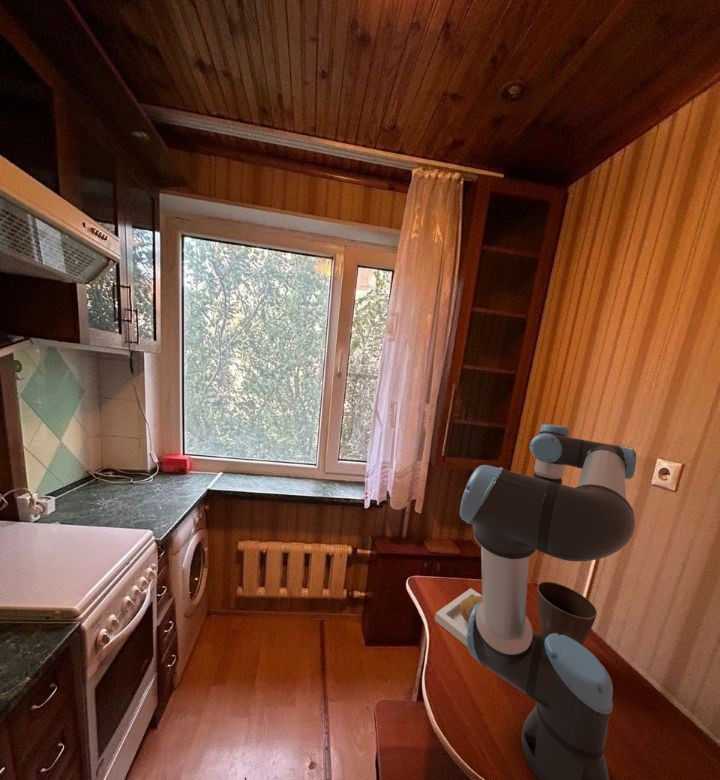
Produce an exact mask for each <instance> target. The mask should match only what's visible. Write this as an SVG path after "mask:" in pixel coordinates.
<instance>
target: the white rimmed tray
mask: <svg viewBox="0 0 720 780" xmlns="http://www.w3.org/2000/svg"><path fill="white" fill-rule="evenodd" d="M472 596H482V593H479V592H477V591H476V590H474V589H473V588H471V587H470V588H468V590H466V591H465V592H463V593H461V595H459V596H457V597H456V598H455V599H453V600H452V601H451V602H449V603H448V604H446V605H445V606H443V607H442V608H440V609H439V610H438V611H436V612H435V616H434V622H436V623H437V624H439V625H440V626H441V627H442V628H444V629H445V630H446V631H447V632H448V633H450V634H451V635H452V636H454V638H456V639H457V640H458V641H459V642H461V643H462V644H463V645H464V646H465V647H467V632H468V628H467V627H468V623H467V622H466V621H465V620H464V618H463V617H462V615H461V612H460V603H461V601H462V600H464V599H466V598H468V597H472Z"/></svg>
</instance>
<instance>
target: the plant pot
mask: <svg viewBox="0 0 720 780" xmlns="http://www.w3.org/2000/svg"><path fill="white" fill-rule="evenodd" d="M536 590H537V591H536V592H537V595H536V596H537V597H536V600H537V601H536V602H537V613H538V614H537V615H538V622H539V628H540V633H541V634H540V635H541V636H543V637H545V638H546V637H548V635H550V634H558V635H559V636H560V635H564V636H567V637H569V638H571V639H573V640H575V641H576V642H578V643H580V644H581V645H582V646H584V645H583V644H584V643H585V641H586V640H587V638H588V636H589V634H590V632H591V630H592V628H593V626H594V623H595V621H596V618H597V615H598V611H597V608H596V607H595V606H594V604H593V603H592V602H591V601H590V600H589V599H588V598H586V597H585V596H584V595H582V594H581V593H579V592H578V591H576V590H575V589H572V588H570V587H569V586H566V585H564V584H560V583H557V582H553V581H542V582H539V583H538V584H537V589H536Z"/></svg>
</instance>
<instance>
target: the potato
mask: <svg viewBox="0 0 720 780" xmlns="http://www.w3.org/2000/svg"><path fill="white" fill-rule="evenodd" d="M477 603H482V596H472V597H468V598H466V599H464V600H462V601H461V603H460V612H461V615H462V617H463V618H464V620H465V621H466V622H467V623H468V622H469V618H470V615H471V612H472V610H473V608H474V606H475V605H476V604H477Z"/></svg>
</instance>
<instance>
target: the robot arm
mask: <svg viewBox="0 0 720 780" xmlns="http://www.w3.org/2000/svg"><path fill="white" fill-rule="evenodd" d="M538 433H539V434H537V435H535V436H534V437H533V438H532V440H531V441H530V443H529V444H530V445H529V450H530V451H529V452H530V453H531V455H532V456H533V457H534V458H535V462H534V468H533V469H534V471H535V472H534V473H533V476H530V475H526V474H523V473H518V472H515V471H511V470H507V469H504V467H501V466H500V467H496V466H493V465H487V464H481V465H479V466H478V467H476V468H475V470H473V472H472V474H471V476H470V477H469V479H468V481H467V483H466V486H465V489H464V491H463V494H462V498H461V501H460V506H459V517H460V518H461V520H463V521H464V522H466V524H467V525H469V524H471V525H472V533H473V537H474V540H475V541H476V542H477V543H478V545H479V546H480V547H481V548H480V553H481V554H480V555H481V557H480V559H481V595H482V603H477V604H476V605H475V606H474V608H473V610H472V612H471V615H470V618H469V622H468V627H467V628H468V632H467V646H466V647H467V650H468V652H469V655H470V656H471V657H472V658H473V659H475V660H476V661H477V662H479V664H480V665H481V666H482V667H484V668H487V670H489V671H491V672H492V673H495V675H497V676H498V677H500V678H502V679H503V680H504V681H506V682H507V683H509V684H511V685H512V686H514V687H515V689H516V688H517V690H519V691H521V692H522V693H524V694H525V695H526V696H528V697H529V698H531V699H533V700H534V701H535V702H536V704H535V706H534V708H533V709H532V710H531V711H530V713H529V714H528V715H527V717H526V718H525V720H524V722H523V725H522V731H521V747H522V750H523V754H524V757H525V759H526V761H527V763H528V765H529V767H530V769H531V770H532V772H533V773H534V775H535V777H536V778H537V779H538V780H610V775H609V772H608V767H607V766H608V765H607V762H606V756H605V748H606V741H607V732H608V728H609V720H610V714H611V713H612V711H613V707H614V705H613V692H614V688H613V687H614V686H613V682H612V679H611V676H610V674H609V673H608V671H607V669H606V668H605V666H604V665H603V664H602V663H601V662H600V660H599V659H598V658H597V657H596V656H595V655H594V653H592V652H591V651H590V650H589V649H587V647H585V646H584V645H581V644H580V643H578V642H576V641H575V640H573V639H571V638H569V637H567V636H564V635H560V636H559V635H558V634H550V635H548V637H546V638H545V637H543V636H542V634H539V633H538V632H536V631H535V630H533V627H532V624H531V622H530V619H529V618H528V616H527V615H526V613H527V599H528V597H527V596H528V583H529V582H528V581H529V579H528V578H529V565H530V564H529V563H530V558H531V557H532V556H533V555H534V554H535V553H536V552H537V551H538V552H541V553H542V554H545V555H548V556H550V557H553V558H556V559H559V560H562V561H568V562H590V561H595V560H600V559H604V558H607V557H609V556H611V555H614V554H616V553H617V552H619V551H620V550H622V549H623V548H624V547H625V546H626V545H628V543H629V541H630V540H631V539H632V537H633V535H634V533H635V528H636V527H635V526H636V522H635V513H634V510H633V508H632V505H631V504H630V502H629V501H628V500H627V498H626V497H627V496H626V495H627V494H626V492H627V490H626V479H627V480H629V479H630V480H631V479H632V478H633V477H634V475H635V471H636V465H637V455H638V454H637V452H636V450H635V449H632V448H628V447H624V446H622V445H619V444H618V445H616V444H609V443H603V442H596V441H591V440H588V439H587V440H585V439H581V438H576V437H570V429H569V428H568V427H566V426H562V425H557V424H549V423H542V424H541V425H540V429H539V432H538ZM565 466H568V467H572V468H577V469H581V471H580V475H579V479H578V482H577V485H576V486H575V487H573V486H568V485H566V484H563V479H562V478H564V470H565Z"/></svg>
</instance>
